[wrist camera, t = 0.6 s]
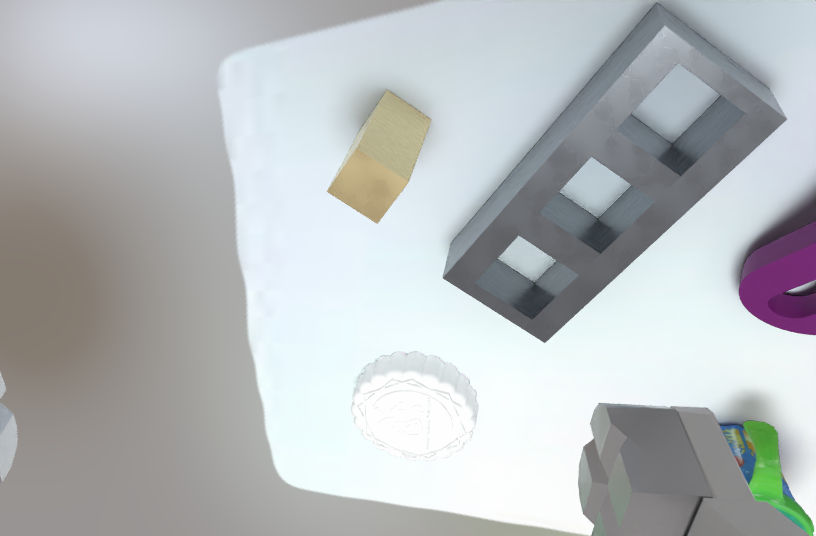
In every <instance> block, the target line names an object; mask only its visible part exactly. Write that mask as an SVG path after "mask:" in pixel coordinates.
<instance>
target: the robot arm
mask: <svg viewBox="0 0 816 536" xmlns="http://www.w3.org/2000/svg"><path fill="white" fill-rule="evenodd" d="M5 391H6V387H5V384H4V381H3V378H2V376H1V373H0V398H1V397H2V395H3V394H4V392H5ZM590 425H591V428H592V432H593V436H594V439H593V440H592V441H590V442H589V443H588V444H586V445H585V446H584V447H583V451H582V455H581V459H580V463H579V479H578V486H579V495H580V502H581V506H582V511H583V514H584V515H585V516H586V517H587V518H588V519H589V520H590V521H591V522H592V523H593V524H594V529H593V532H592V535H591V536H810V535H809V534H807V533H806V532H805V531H804V530H802V529H801V528H800V527H798V526H797V525H796V524H795V523H793V522H792V521H791V520H790V519H788V518H787V517H786V516H784V515H783V514H782V513H781V512H779V511H778V510H777V509H776V508H774V507H773V506H772V505H771V504H769V503H768V502H764V501H756V500H755V498H754V496H753V494H752V492H751V490H750V488H749V486H748V483H747V481H746V479H745V477H744V475H743V473H742V471H741V469H740V467H739V465H738V463H737V461H736V459H735V457H734V455H733V453H732V451H731V449H730V446H729V444H728V442H727V440H726V438H725V436H724V434H723V432H722V430H721V428H720V426H719V424H718V422H717V420H716V418H715V416H714V414H713V412H711V411H710V410H709V409H708V408H699V407H676V406H671V407H666V406H647V405H627V404H608V403H599V404H598V406H597V407H596V408H595V410H594V413H593V416H592V419H591V423H590ZM16 446H17V426H16V422H15V418H14V415H13V413H12V412H11V411H9V410H8V409H7V408H6V407H5V406H4V405H2V404H1V403H0V483H2V482H3V480H4V478H5V476H6V475H7V473H8V471H9V469H10V467H11V465H12V462H13V458H14V455H15V451H16Z"/></svg>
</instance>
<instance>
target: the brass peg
mask: <svg viewBox="0 0 816 536" xmlns="http://www.w3.org/2000/svg"><path fill="white" fill-rule="evenodd" d="M430 122H431V119H430V118H428V117H427V116H425V115H424V114H422V113H421V112H419V111H418V110H416V109H415V108H414V107H412V106H411V105H409V104H408V103H406V102H405V101H403V100H402V99H400V98H399V97H397V96H396V95H394V94H393V93H391V92H390V91H389V90H386V92H385V93H384V95H383V96H382V98H381V99H380V101H379V102H378V104H377V105H376V107H375V108H374V110H373V111H372V113H371V114H370V116H369V117H368V119H367V120H366V122H365V123H364V125H363V126H362V128H361V129H360V131H359V133H358V135H357V137H356V138H355V140H354V142H353V144H352V146H351V148H350V150H349V151H348V153H347V155H346V157H345V159H344V161H343V163H342V164H341V166H340V168H339V170H338V172H337V174H336V176H335V177H334V179H333V181H332V183H331V185H330V187H329V189H328V190H327V192H328V193H330V194H331V195H333V196H335V197H336V198H338V199H339V200H341V201H342V202H344V203H345V204H347V205H349V206H350V207H352V208H353V209H355V210H356V211H358V212H360V213H361V214H363V215H364V216H366V217H367V218H369V219H371V220H372V221H374V222H375V223H378V222H379V221H380V219H381V218H382V217H383V216H384V214H385V213H386V212H387V210H388V209H389V208H390V206H391V205H392V204H393V202H394V201H395V200H396V198H397V197H398V196H399V194H400V193H401V192H402V190H403V189H404V188H405V186H406V185H407V184H408V182H409V180H410V177H411V174H412V172H413V169H414V166H415V163H416V161H417V158H418V155H419V152H420V150H421V147H422V144H423V141H424V139H425V136H426V133H427V130H428V128H429V125H430Z"/></svg>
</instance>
